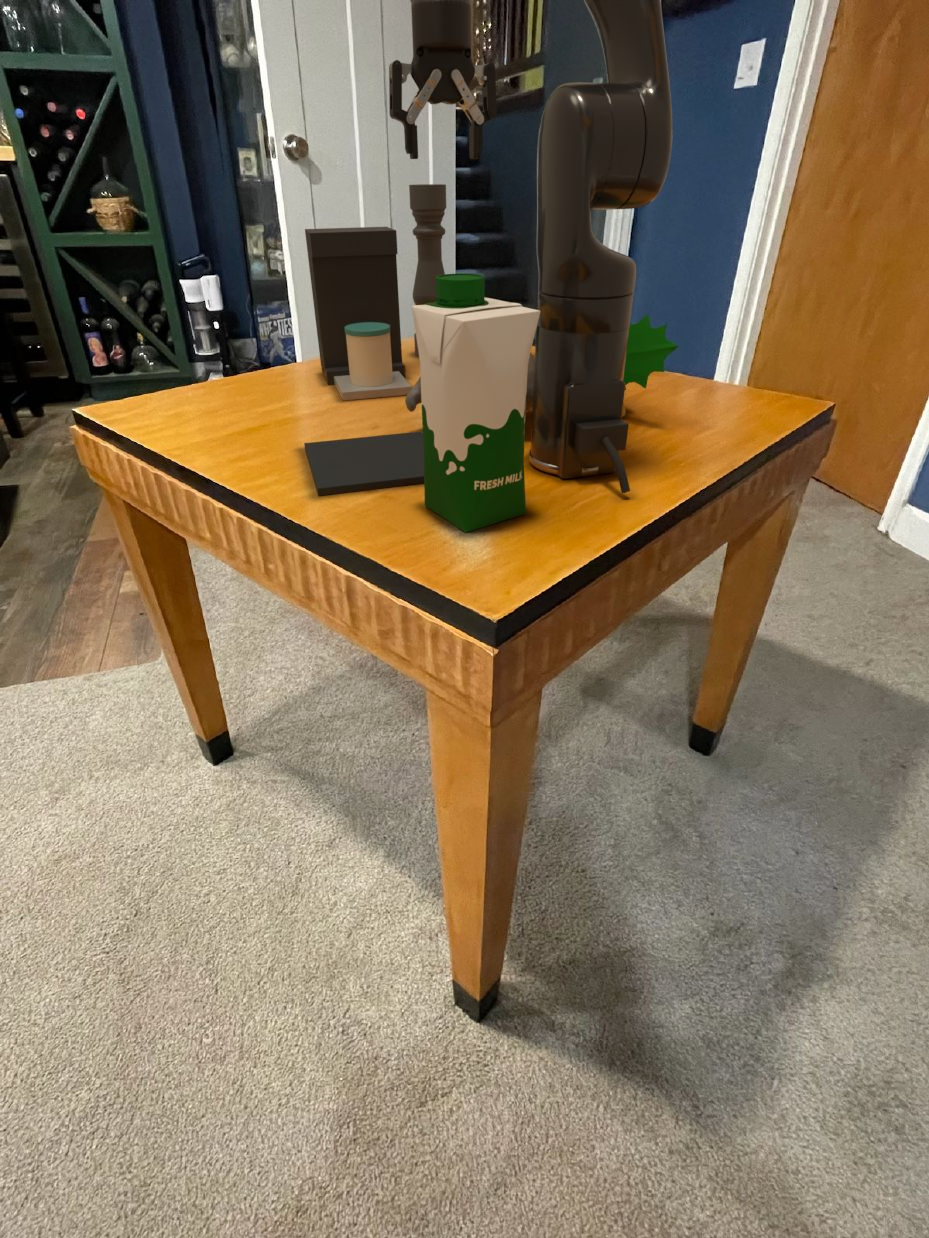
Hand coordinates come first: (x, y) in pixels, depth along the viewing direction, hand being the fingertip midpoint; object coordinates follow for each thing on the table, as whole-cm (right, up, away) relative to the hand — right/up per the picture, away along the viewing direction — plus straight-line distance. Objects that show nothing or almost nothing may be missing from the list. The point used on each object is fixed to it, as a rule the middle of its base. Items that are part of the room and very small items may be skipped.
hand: (444, 159), depth 95 cm
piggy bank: (+6, -39, -7) cm, 40 cm away
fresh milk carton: (+4, -53, -29) cm, 61 cm away
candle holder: (-3, -18, +25) cm, 31 cm away
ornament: (+21, -36, -3) cm, 42 cm away
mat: (-7, -46, -19) cm, 51 cm away
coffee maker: (-12, -28, +9) cm, 32 cm away
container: (-11, -29, +6) cm, 31 cm away
